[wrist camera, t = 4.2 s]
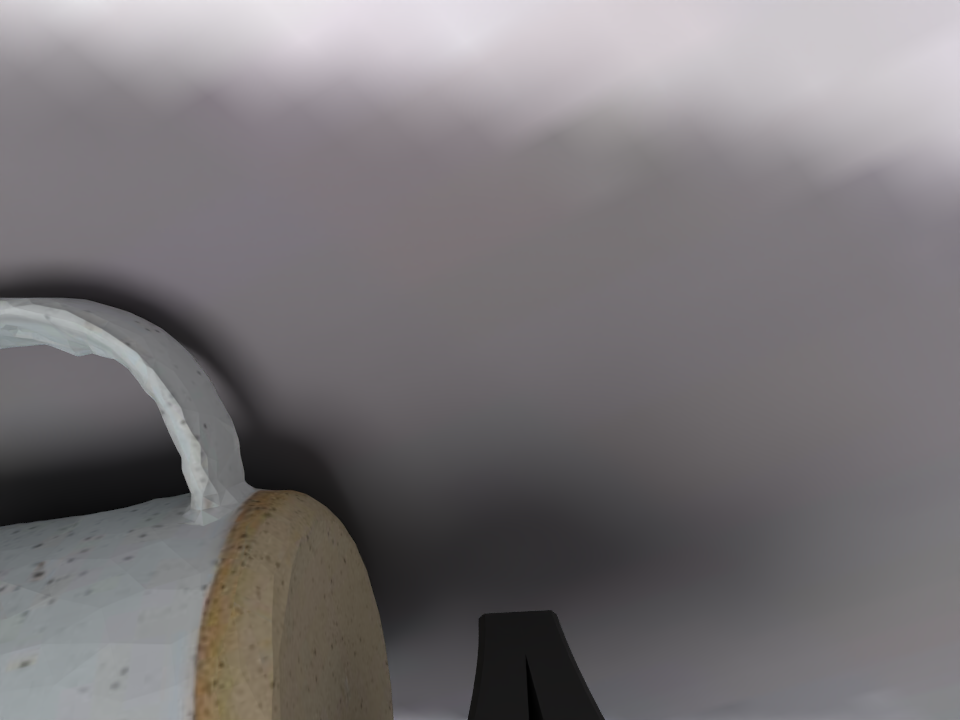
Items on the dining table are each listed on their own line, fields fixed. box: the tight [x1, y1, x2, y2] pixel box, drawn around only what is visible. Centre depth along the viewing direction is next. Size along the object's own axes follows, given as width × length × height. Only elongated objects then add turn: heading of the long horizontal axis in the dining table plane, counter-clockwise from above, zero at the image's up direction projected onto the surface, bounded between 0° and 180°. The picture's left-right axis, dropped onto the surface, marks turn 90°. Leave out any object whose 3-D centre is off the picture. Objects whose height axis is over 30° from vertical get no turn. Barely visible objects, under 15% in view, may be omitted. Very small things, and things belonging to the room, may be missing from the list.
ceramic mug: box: [0, 298, 393, 720], centre depth 9 cm, size 11×8×8 cm
